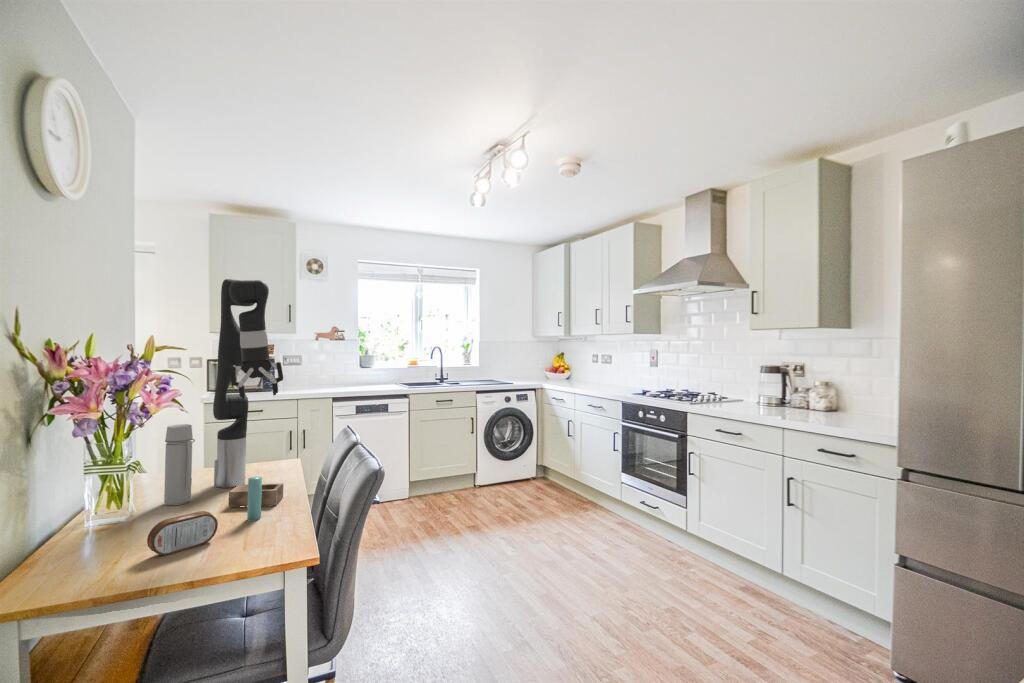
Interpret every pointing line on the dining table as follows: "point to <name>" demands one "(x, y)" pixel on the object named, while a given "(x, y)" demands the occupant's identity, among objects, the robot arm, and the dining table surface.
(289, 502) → the dining table surface
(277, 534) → the dining table surface
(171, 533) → the tin
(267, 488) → the socket
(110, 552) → the dining table surface
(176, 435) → the water bottle
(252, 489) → the peg
